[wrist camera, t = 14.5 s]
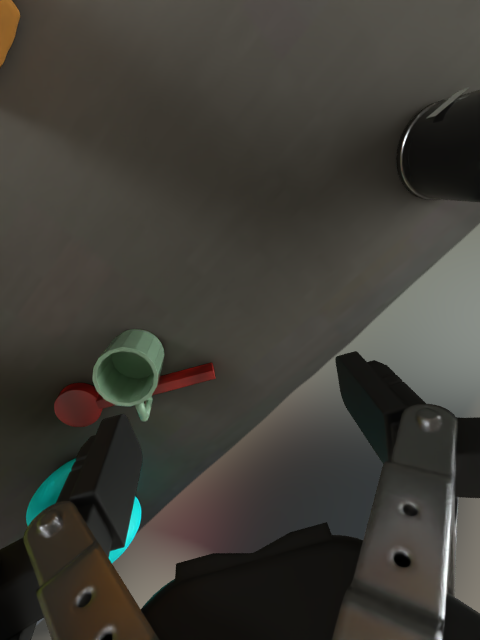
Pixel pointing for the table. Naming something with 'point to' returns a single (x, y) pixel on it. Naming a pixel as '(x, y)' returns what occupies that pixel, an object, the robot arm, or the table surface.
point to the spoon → (86, 403)
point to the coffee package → (7, 26)
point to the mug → (130, 370)
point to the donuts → (51, 492)
